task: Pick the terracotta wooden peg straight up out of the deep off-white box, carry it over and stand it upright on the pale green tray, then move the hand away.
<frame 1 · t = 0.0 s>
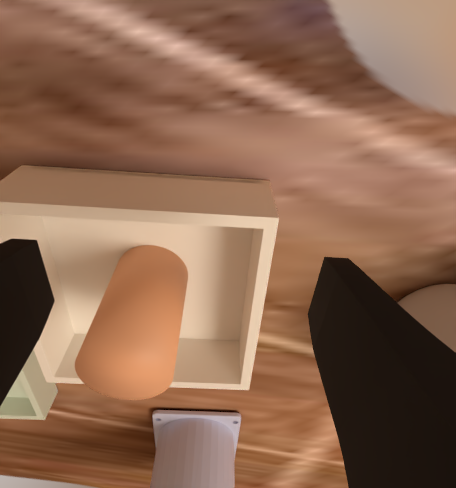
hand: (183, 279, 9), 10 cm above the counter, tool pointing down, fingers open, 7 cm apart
cup: (444, 304, 24), on the counter
box: (154, 269, 22), on the counter
peg: (152, 274, 21), resting on box
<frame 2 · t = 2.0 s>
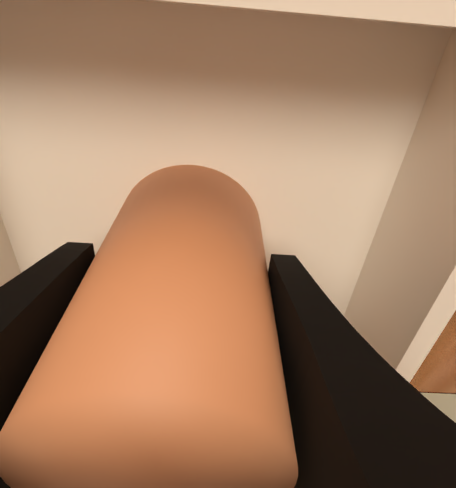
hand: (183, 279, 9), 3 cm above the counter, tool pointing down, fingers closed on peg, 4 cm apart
tray: (290, 447, 20), on the counter
box: (192, 222, 11), on the counter
peg: (191, 230, 11), resting on box, touching gripper
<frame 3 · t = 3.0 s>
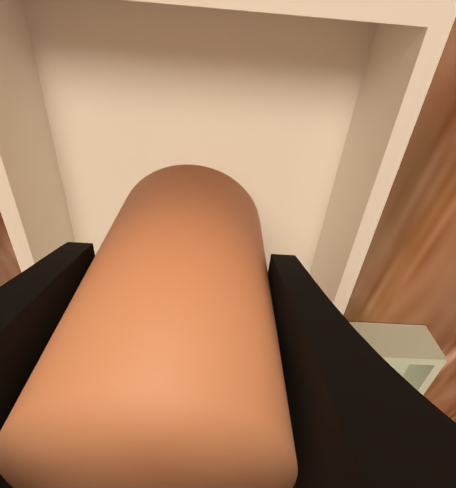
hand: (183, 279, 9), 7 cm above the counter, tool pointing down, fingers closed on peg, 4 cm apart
tray: (279, 379, 24), on the counter
box: (199, 170, 15), on the counter
peg: (191, 230, 11), point 5 cm above the counter, touching gripper
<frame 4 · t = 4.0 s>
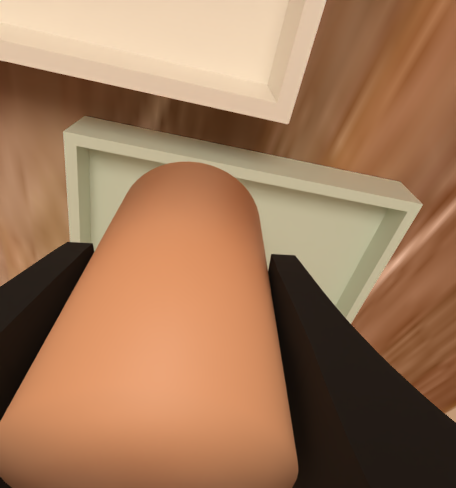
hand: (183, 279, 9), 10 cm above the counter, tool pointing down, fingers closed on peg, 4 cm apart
tray: (226, 247, 20), on the counter
peg: (190, 227, 11), point 7 cm above the counter, touching gripper
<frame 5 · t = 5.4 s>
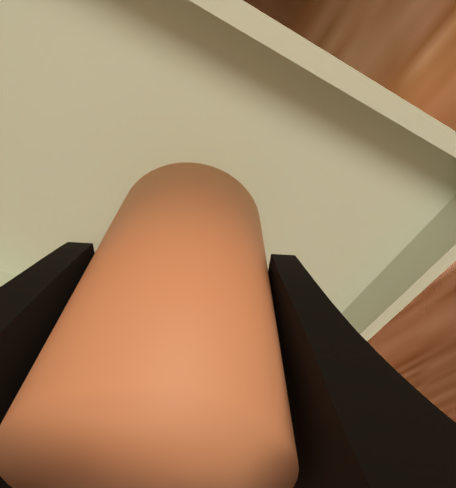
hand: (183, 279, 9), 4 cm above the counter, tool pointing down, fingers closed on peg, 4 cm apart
tray: (196, 201, 13), on the counter
peg: (191, 228, 11), point 2 cm above the counter, touching gripper
when the fingers open (4 cm above the counter, at t = 6.2 s): peg stays where it is, resting on tray.
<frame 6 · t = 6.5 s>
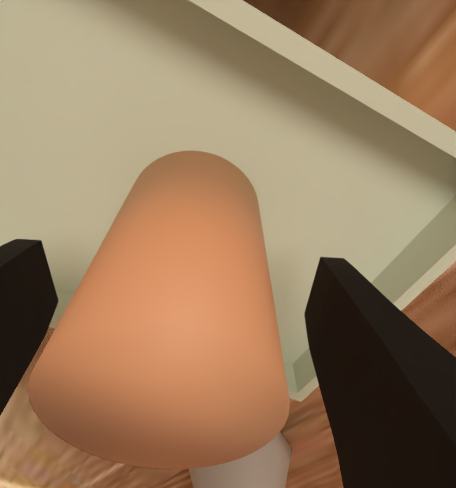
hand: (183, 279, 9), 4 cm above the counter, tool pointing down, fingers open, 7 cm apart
flask: (238, 443, 23), on the counter
tray: (196, 201, 12), on the counter
peg: (194, 213, 12), point 1 cm above the counter, touching tray
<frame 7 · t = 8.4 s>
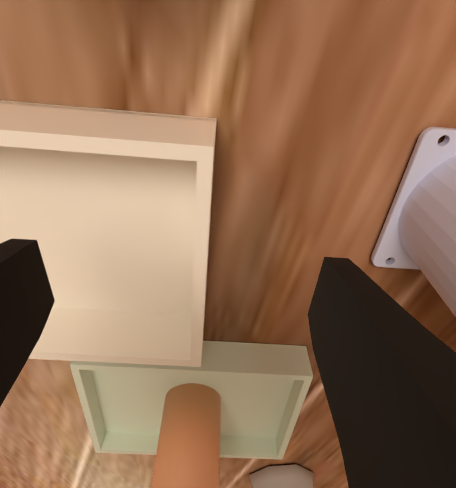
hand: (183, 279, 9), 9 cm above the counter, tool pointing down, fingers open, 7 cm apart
flask: (281, 474, 37), on the counter
tray: (194, 388, 28), on the counter
box: (93, 228, 19), on the counter
peg: (193, 399, 27), point 1 cm above the counter, touching tray
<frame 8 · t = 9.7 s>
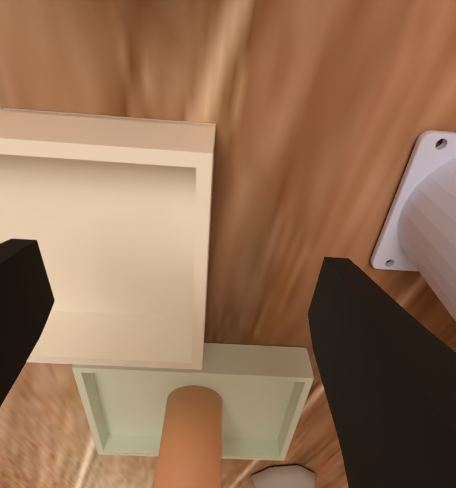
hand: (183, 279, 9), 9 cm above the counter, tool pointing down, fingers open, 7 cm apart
flask: (283, 475, 38), on the counter
tray: (195, 390, 28), on the counter
box: (94, 232, 19), on the counter
peg: (194, 401, 27), point 1 cm above the counter, touching tray
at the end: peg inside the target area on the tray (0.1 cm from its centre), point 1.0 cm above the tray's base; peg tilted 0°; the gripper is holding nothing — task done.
